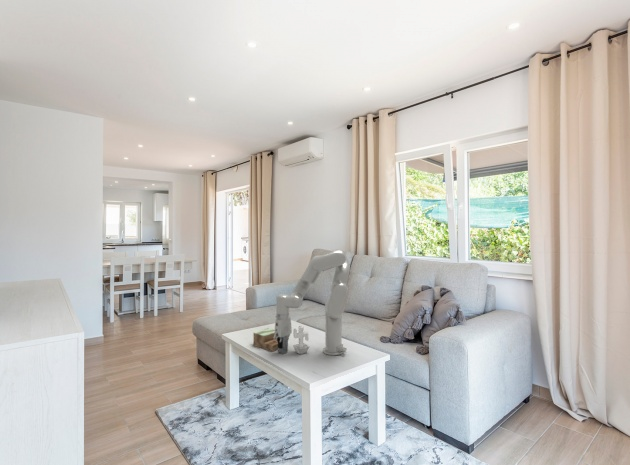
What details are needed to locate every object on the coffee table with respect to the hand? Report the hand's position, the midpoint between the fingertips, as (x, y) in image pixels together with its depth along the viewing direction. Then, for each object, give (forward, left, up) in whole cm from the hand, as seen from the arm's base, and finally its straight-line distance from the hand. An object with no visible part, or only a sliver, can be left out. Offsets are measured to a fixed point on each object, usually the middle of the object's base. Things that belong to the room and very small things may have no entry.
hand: (282, 346), depth 195 cm
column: (0, 0, -3) cm, 3 cm away
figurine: (-8, -7, -3) cm, 11 cm away
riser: (+14, -3, -3) cm, 15 cm away
